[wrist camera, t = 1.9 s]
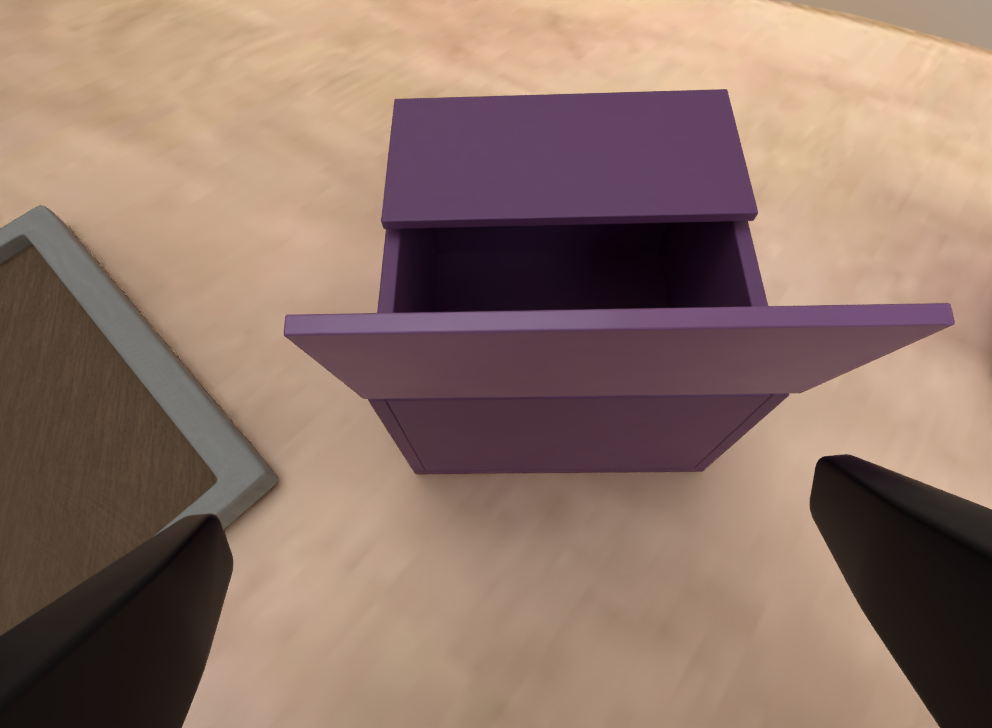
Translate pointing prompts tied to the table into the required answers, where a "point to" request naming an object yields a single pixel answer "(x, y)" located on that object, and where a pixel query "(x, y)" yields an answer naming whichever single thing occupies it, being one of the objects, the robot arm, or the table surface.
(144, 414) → the grey rectangular tray
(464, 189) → the box
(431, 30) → the table surface
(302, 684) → the table surface
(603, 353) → the flap
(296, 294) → the table surface
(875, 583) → the robot arm
